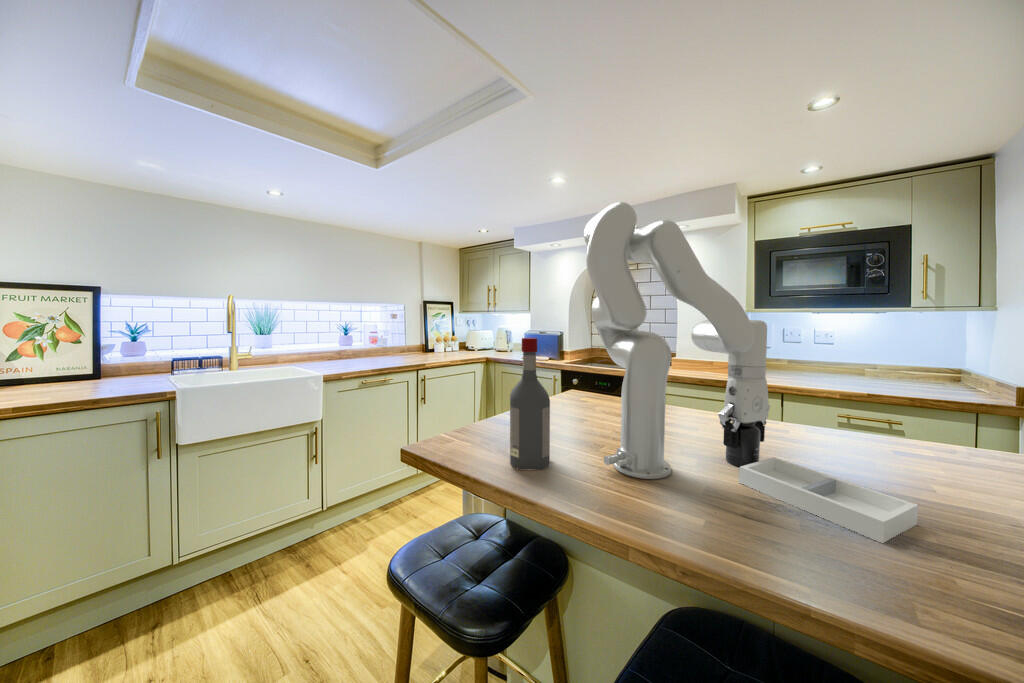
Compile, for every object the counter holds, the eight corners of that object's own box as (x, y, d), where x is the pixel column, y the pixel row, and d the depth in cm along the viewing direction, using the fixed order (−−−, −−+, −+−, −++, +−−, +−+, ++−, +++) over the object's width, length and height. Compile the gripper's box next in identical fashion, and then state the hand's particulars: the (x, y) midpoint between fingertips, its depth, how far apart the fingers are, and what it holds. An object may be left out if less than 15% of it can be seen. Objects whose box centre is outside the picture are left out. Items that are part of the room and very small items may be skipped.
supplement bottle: (764, 469, 85) (766, 418, 84) (731, 467, 87) (733, 416, 86) (751, 458, 92) (753, 410, 91) (721, 456, 93) (723, 409, 92)
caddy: (882, 543, 58) (884, 522, 58) (738, 482, 79) (739, 466, 78) (916, 524, 63) (918, 504, 63) (773, 472, 84) (773, 457, 84)
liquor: (546, 455, 94) (546, 337, 92) (550, 470, 85) (551, 339, 83) (510, 455, 94) (509, 337, 92) (510, 470, 85) (510, 339, 83)
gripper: (738, 378, 81) (735, 455, 82) (785, 371, 88) (782, 442, 89) (706, 373, 87) (705, 444, 89) (753, 367, 95) (751, 433, 96)
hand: (743, 443), depth 89 cm, fingers open, 9 cm apart
